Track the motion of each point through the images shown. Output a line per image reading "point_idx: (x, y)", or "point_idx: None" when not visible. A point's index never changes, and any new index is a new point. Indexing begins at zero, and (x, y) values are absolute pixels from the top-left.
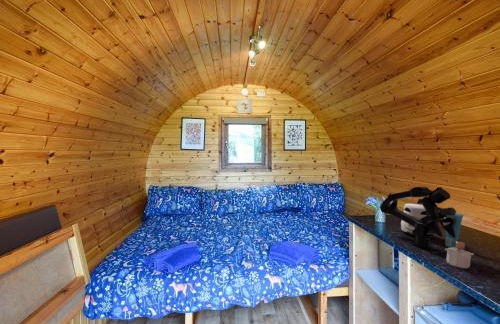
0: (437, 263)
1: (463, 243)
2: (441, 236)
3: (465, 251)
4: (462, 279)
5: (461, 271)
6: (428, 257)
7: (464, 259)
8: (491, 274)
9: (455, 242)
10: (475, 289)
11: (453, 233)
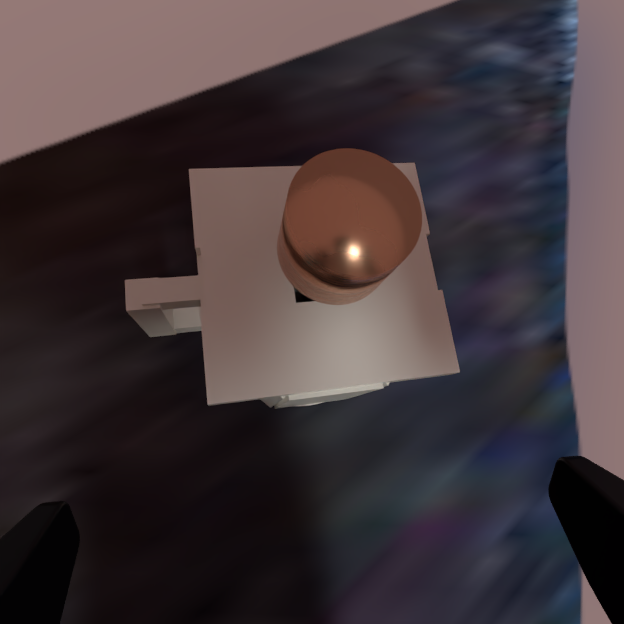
0: (499, 361)
1: (330, 167)
2: (570, 472)
3: (230, 243)
4: (531, 131)
5: None
6: (475, 496)
7: None
8: (187, 119)
9: (396, 267)
10: (561, 44)
11: (5, 600)
